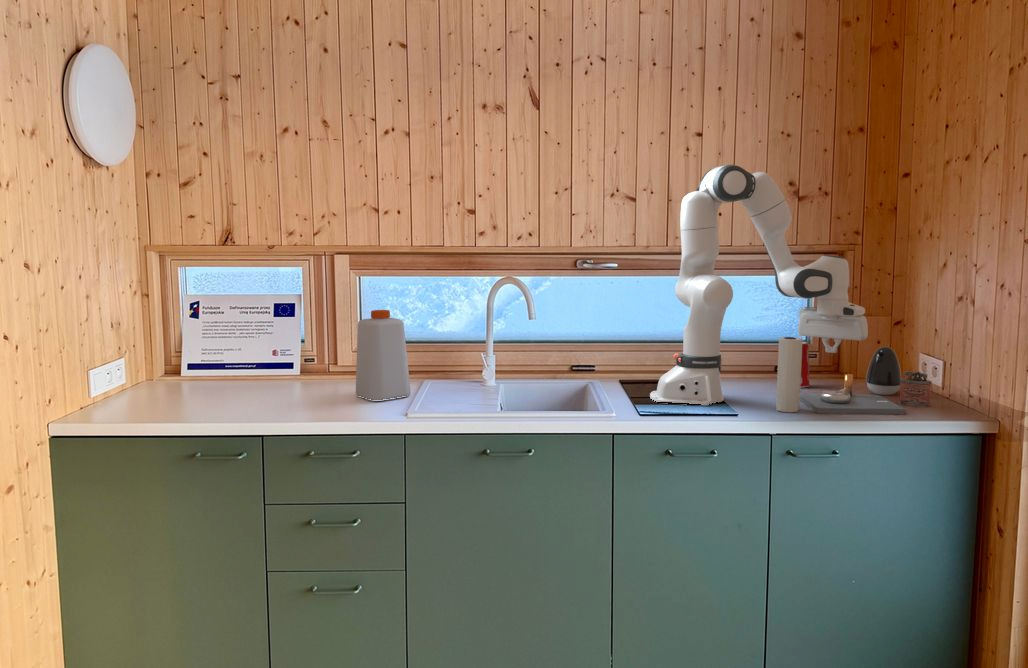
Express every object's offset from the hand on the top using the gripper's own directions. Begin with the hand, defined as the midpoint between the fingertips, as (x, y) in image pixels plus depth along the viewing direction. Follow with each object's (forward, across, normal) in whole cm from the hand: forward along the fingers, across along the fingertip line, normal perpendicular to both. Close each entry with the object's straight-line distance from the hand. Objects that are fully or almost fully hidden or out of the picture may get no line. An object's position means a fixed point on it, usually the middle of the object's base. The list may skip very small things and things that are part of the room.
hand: (831, 352), depth 223 cm
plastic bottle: (+12, -106, -94) cm, 142 cm away
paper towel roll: (+14, -2, -25) cm, 29 cm away
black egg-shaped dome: (+15, +10, +17) cm, 25 cm away
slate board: (+14, +9, -8) cm, 18 cm away
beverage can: (+14, -14, +10) cm, 22 cm away
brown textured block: (+15, +22, +7) cm, 28 cm away
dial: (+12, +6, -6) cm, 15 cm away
